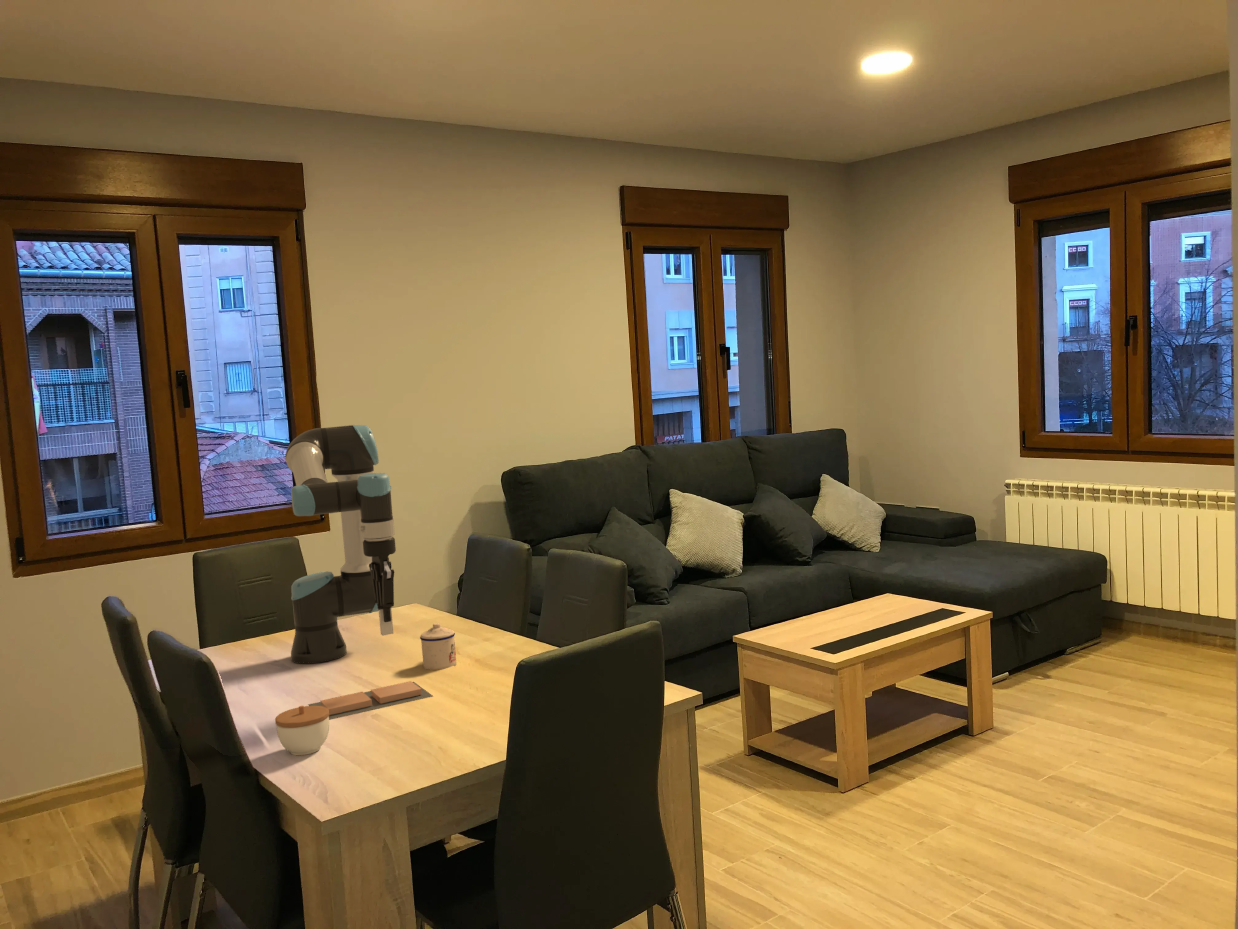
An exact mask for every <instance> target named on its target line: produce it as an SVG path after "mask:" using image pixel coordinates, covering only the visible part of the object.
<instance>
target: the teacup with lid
mask: <svg viewBox="0 0 1238 929" xmlns="http://www.w3.org/2000/svg"><path fill="white" fill-rule="evenodd" d="M455 635H456V633H455V631H454V630H453V629H450V628H446V627H445V626H442V625H441V623H439V622H435V623H433V624H432V627H430V628H429V629H428V630H426V631H424V632H421V634H420V636H419V639H420V641H421V654H422V663H423V664H422V665H423V666H422V667H423V668H424V669H425V670H433V671H434V670H435V671H436V670H442V669H443V670H444V669H448V668H451V667H456V666H457V654H456V644H455V643H456V642H455V641H456V640H455Z"/></svg>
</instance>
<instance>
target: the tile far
mask: <svg viewBox="0 0 1238 929" xmlns="http://www.w3.org/2000/svg"><path fill="white" fill-rule="evenodd" d="M413 682H414V681H412V680H409V681H405V682H400V683H396V684H395V683H394V684H391V685H386V686H382V687H378V688H371V689H370V691H371V696H372V697H374V698H375V699H376V700H377V701H378V702H379V703H380V704H381V703H382V704H383V703H387V702H392V701H396V700H401V699H405V698H410V697H414V696H419V695H422V692H421V688H420V687H421V686H420V687H418V686H417V685H415V684H414V683H413Z"/></svg>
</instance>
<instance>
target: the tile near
mask: <svg viewBox="0 0 1238 929" xmlns="http://www.w3.org/2000/svg"><path fill="white" fill-rule="evenodd" d="M364 692H365V691H359V692H353V693H349V694H345V695H341V696H340V695H339V696H336V697H330V698H325V699H321V700H320V701H319V702H320V703H321V706H323V707H326V708H327V709H328V710H329V715H334V714H338V713H343V712H347V711H351V710H356V709H360V708H365V707H369V706H372V700H371V699H370V698H369V697H368V696H367V695H366V694H365V693H364Z"/></svg>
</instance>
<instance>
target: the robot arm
mask: <svg viewBox="0 0 1238 929" xmlns="http://www.w3.org/2000/svg"><path fill="white" fill-rule="evenodd" d="M377 448H378V447H377V443H376V440H375V436H374V433H373V430H372V429H371V428H370V426H368V425H365V424H349V425H341V426H330V427H317V428H313V429H312V428H311V429H309V430H306V431H303V432H302V433H299V435H297V436H296V437H295V438H293V440H292V441H291V442H290V443H289V445H288V446H287V448H286V451H285V461H286V466H287V468H288V469H289V470H290V471H291V472H292V474H293V477H294V482H295V486H293V487H292V488H290V489H291V490H290V497H291V505H292V507H291V508H292V513H293V514H294V515H295V516H296V517H312V516H318V515H325V514H334V513H340V518H341V530H342V539H343V540H342V541H343V552H344V561H345V562H344V564H343V565H342V567H340V575H334V573H333V572H332V571H320V572H315V573H312V574H307V575H305V576H302V577H299V578H298V579H296V580H294V581H293V582H292V583H291V584H292V585H291V587H290V589H291V590H290V591H291V601H292V608H293V609H292V610H293V621H294V622H293V623H294V637H293V643H292V646H291V650H290V656H291V657H290V659H291V662H293V663H295V664H306V665H307V664H318V663H325V662H328V661H334V660H336V659H340V658H342V657H344V656H345V655H346V654H347V644H346V642H345V639H344V637H343V635H342V633H341V630H340V628H339V626H338V618H341V617H348V616H354V615H362V614H372V613H375V612H378V617H379V618H378V619H379V627H380V628H379V630H380V635H381V636H388V635H393V634H394V624H393V613H392V612H393V611H392V608H393V607H394V606H395V595H394V593H395V592H394V590H395V588H394V583H395V582H394V581H395V580H394V577H395V570H394V568H392V561H390V557H389V556H390V555H393V554H395V553H396V552H397V550H396V549H397V547H396V539H395V537H394V535H395V525H394V524H395V523H394V518H393V517H394V516H393V507H392V486H391V482H390V476H389V475H388V474H387V473H385V472H376V473H375V470H374V469H375V468H374V466H377V465H378V464H379V461H380V460H379V452H378V449H377ZM325 470H331V476H332V477H333V478H334V479H336V480H337V481H332V482H331V481H330V482H328V479H327V476H326V474H325Z"/></svg>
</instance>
